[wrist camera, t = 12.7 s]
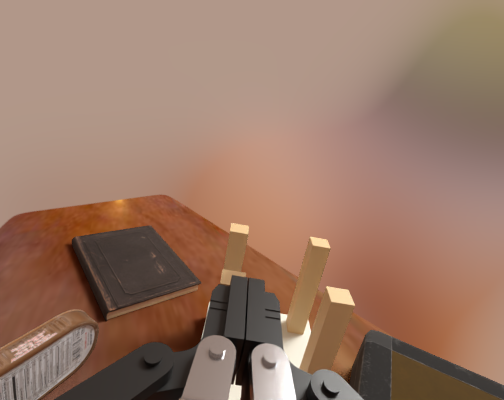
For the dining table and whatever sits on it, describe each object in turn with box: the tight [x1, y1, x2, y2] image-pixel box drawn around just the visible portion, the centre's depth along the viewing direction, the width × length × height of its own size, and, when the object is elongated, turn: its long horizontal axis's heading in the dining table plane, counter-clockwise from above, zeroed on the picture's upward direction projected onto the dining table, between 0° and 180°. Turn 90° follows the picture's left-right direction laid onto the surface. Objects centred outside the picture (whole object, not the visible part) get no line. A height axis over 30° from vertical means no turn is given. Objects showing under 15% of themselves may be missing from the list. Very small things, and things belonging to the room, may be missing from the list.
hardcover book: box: [72, 225, 201, 321], centre depth 58 cm, size 16×23×2 cm
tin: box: [0, 309, 99, 400], centre depth 33 cm, size 15×3×8 cm, turn 153°
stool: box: [201, 223, 355, 400], centre depth 38 cm, size 16×18×18 cm
